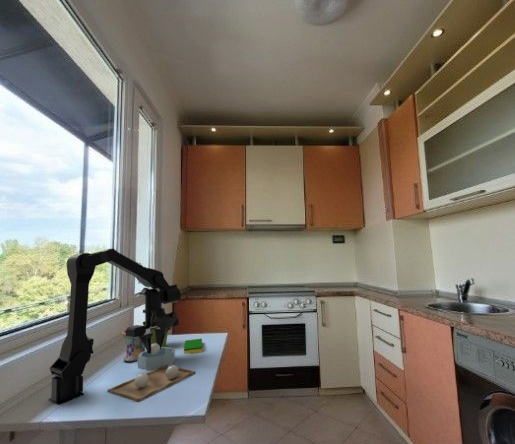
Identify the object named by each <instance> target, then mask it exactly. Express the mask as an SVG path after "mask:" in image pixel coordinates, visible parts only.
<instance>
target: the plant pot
mask: <svg viewBox="0 0 515 444" xmlns="http://www.w3.org/2000/svg"><path fill="white" fill-rule="evenodd" d="M141 324H142V325H143V322H141ZM143 326H145V325H143ZM155 329H156V328H155ZM155 329H152V330H150V333H153V335H152V337H151V345H152V344H154V343H157V342H156V334H155ZM168 333H169V331H168V332H167V333H166V334H165V337H164V340H163V343H162V346H161V347H167V342H168V341H167V340H168Z"/></svg>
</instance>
